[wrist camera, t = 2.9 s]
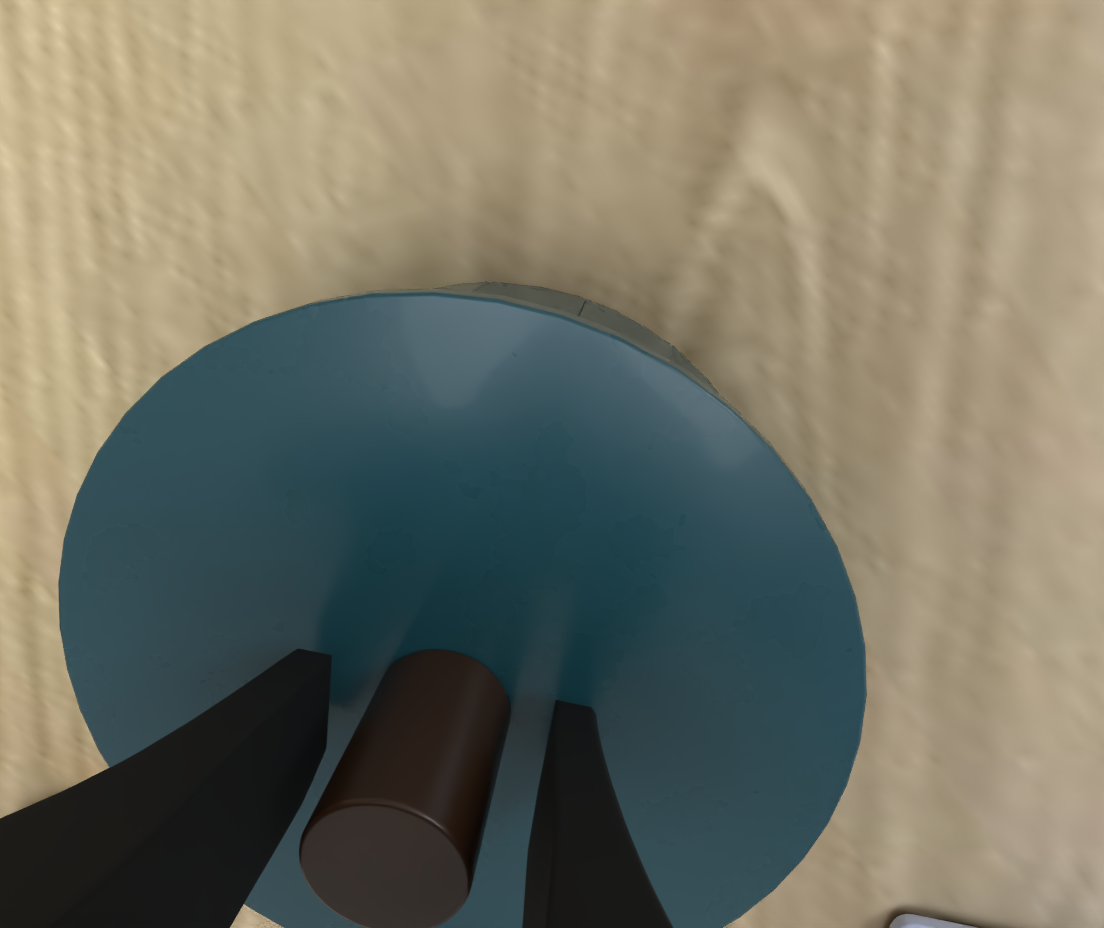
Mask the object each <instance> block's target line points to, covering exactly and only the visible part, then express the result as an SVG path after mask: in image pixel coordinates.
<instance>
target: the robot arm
mask: <svg viewBox="0 0 1104 928" xmlns="http://www.w3.org/2000/svg"><path fill="white" fill-rule="evenodd" d="M331 664H332V655H329V654H324V653H319V652H314V651H309V650H304V649H299V648H298V649H296V650H295V651H293V652H292V653H290V654H289V655H287V656H286V657H284V658H283V659H281V660H280V661H278V662H277V663H275V664H274V665H272V666H271V667H269V668H268V669H267V670H265V671H264V672H262V673H261V674H259V675H258V676H257V677H255V678H254V679H252V680H251V681H249V682H248V683H246V684H245V685H243V686H242V687H241V688H239V689H238V690H236V691H235V692H233V693H232V694H230V695H229V696H227V697H226V698H224V699H223V700H221V701H220V702H218V703H217V704H215V705H214V706H212V707H211V708H209V709H208V710H206V711H205V712H203V713H202V714H200V715H199V716H197V717H195V718H194V719H192V720H191V721H189V722H188V723H186V724H184V725H183V726H181V727H180V728H178V729H176V730H175V731H173V732H171V733H170V734H168V735H166V736H165V737H163V738H161V739H160V740H158V741H156V742H155V743H153V744H151V745H150V746H148V747H146V748H145V749H143V750H141V751H139V752H138V753H136V754H134V755H132V756H131V757H129V758H127V759H125V760H123V761H121V762H120V763H118V764H116V765H114V766H112V767H110V768H108V769H106V770H104V771H102V772H100V773H98V774H96V775H94V776H92V777H90V778H88V779H86V780H84V781H82V782H80V783H79V784H77V785H75V786H72V787H70V788H68V789H66V790H64V791H62V792H60V793H58V794H55V795H53V796H51V797H49V798H46V799H44V800H42V801H39V802H37V803H35V804H33V805H30V806H28V807H26V808H23V809H21V810H19V811H16V812H14V813H12V814H10V815H7V816H5V817H3V818H0V928H230V926H231V925H232V923H233V921H234V920H235V918H236V916H237V914H238V913H239V911H240V909H241V908H242V906H243V904H244V903H245V901H246V899H247V898H248V896H249V894H250V892H251V891H252V889H253V887H254V886H255V884H256V882H257V881H258V879H259V877H260V875H261V874H262V872H263V870H264V869H265V867H266V865H267V864H268V862H269V860H270V859H271V857H272V855H273V853H274V852H275V850H276V848H277V847H278V845H279V843H280V841H281V840H282V838H283V836H284V835H285V833H286V831H287V829H288V828H289V826H290V824H291V823H292V821H293V819H294V817H295V816H296V814H297V812H298V810H299V809H300V807H301V805H302V803H303V801H304V799H305V796H306V794H307V792H308V790H309V788H310V785H311V783H312V781H313V779H314V776H315V774H316V772H317V769H318V767H319V765H320V762H321V760H322V758H323V755H324V753H325V751H326V748H327V732H328V715H329V698H330V681H331ZM522 928H673V926H672V924H671V922H670V920H669V918H668V916H667V914H666V912H665V910H664V908H663V906H662V904H661V902H660V900H659V898H658V896H657V894H656V892H655V890H654V888H653V886H652V884H651V882H650V880H649V878H648V875H647V873H646V871H645V869H644V866H643V864H642V862H641V859H640V857H639V855H638V852H637V850H636V847H635V845H634V843H633V840H632V838H631V835H630V833H629V830H628V827H627V825H626V822H625V819H624V817H623V814H622V811H621V808H620V805H619V802H618V799H617V796H616V793H615V790H614V788H613V785H612V781H611V778H610V775H609V771H608V768H607V764H606V761H605V757H604V753H603V749H602V745H601V741H600V736H599V731H598V725H597V717H596V713H595V712H594V710H593V709H592V707H589V706H584V705H579V704H574V703H569V702H564V701H559V700H556V701H555V706H554V711H553V716H552V721H551V726H550V731H549V736H548V741H547V746H546V751H545V756H544V762H543V767H542V772H541V777H540V782H539V787H538V792H537V798H536V804H535V810H534V816H533V822H532V828H531V834H530V840H529V846H528V853H527V867H526V881H525V895H524V910H523V924H522ZM889 928H977V927H972V926H967V925H963V924H958V923H953V922H948V921H943V920H939V919H934V918H929V917H924V916H919V915H914V914H903V915H900V916H898V917H896V918H895V919H894V920H893V922H892V923H891V925H890V927H889Z"/></svg>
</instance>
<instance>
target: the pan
mask: <svg viewBox="0 0 1104 928" xmlns="http://www.w3.org/2000/svg"><path fill="white" fill-rule="evenodd" d="M434 289H448V290H457V291H466V292H475V293H484V294H493V295H503V296H507V297H511V298H515V299H519V300H523V301H527V302H531V303H535V304H539V305H543V306H547V307H551V308H555V309H559V310H563V311H566V312H569V313H571V314H574V315H576V316H579V317H581V318H584V319H586V320H589V321H592V322H594V323H597V324H599V325H602V326H604V327H607V328H609V329H612V330H614V331H617V332H620V333H622V334H624V335H626V336H628V337H630V338H631V339H633V340H635V341H637V342H639V343H640V344H642V345H644V346H646V347H648V348H650V349H651V350H653V351H655V352H657V353H659V354H660V355H662V356H664V357H666V358H668V359H669V360H671V361H673V362H675V363H677V364H678V365H680V366H681V367H682V368H684V369H685V370H686V371H688V372H689V373H690V374H692V375H693V376H694V377H696V378H697V379H698V380H700V381H701V382H703V383H704V384H705V385H707V386H708V387H709V388H711V389H712V390H713V391H715V392H716V393H717V394H718V392H717V391H716V390H715V388H714V387H713V386H712V384H711V383H710V382H709V381H708V379H707V378H706V377H705V376H704V375H703V374H702V373H701V372H700V371H699V370H697V369H696V368H695V367H694V366H693V365H692V364H691V363H690V362H689V361H688V360H687V359H686V358H685V357H684V356H683V355H682V354H681V353H680V352H679V351H678V350H677V349H676V348H675V347H674V346H671V345H670V343H668V342H666V341H664V340H663V339H661V338H660V337H659V336H657V335H656V334H655V333H653V332H652V331H651V330H649V329H647V328H646V327H644V326H642V325H640V324H638V323H637V322H635V321H633V320H631V319H629V318H628V317H626V316H624V315H622V314H620V313H619V312H617V311H615V310H612V309H610V308H607V307H605V306H602V305H600V304H597V303H594V302H592V301H590V300H587V299H584V298H582V297H579V296H575V295H571V294H567V293H563V292H559V291H555V290H551V289H547V288H543V287H537V286H528V285H518V284H509V283H497V282H491V283H489V282H480V283H471V284H458V285H452V286H446V287H440V288H434Z"/></svg>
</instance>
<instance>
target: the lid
mask: <svg viewBox="0 0 1104 928" xmlns="http://www.w3.org/2000/svg"><path fill="white" fill-rule="evenodd" d="M59 617H60V631H61V636H62V642H63V648H64V654H65V659H66V665H67V670H68V673H69V676H70V680H71V683H72V686H73V689H74V692H75V695H76V698H77V702H78V705H79V708H80V711H81V713H82V715H83V717H84V719H85V722H86V724H87V726H88V728H89V730H90V732H91V735H92V737H93V739H94V741H95V743H96V745H97V748H98V750H99V751H100V753H101V755H102V756H103V758H104V760H105V761H106V763H107V764H108V766H109V768H110V767H112V766H114V765H116V764H118V763H120V762H121V761H123V760H125V759H127V758H129V757H131V756H132V755H134V754H136V753H138V752H139V751H141V750H143V749H145V748H146V747H148V746H150V745H151V744H153V743H155V742H156V741H158V740H160V739H161V738H163V737H165V736H166V735H168V734H170V733H171V732H173V731H175V730H176V729H178V728H180V727H181V726H183V725H184V724H186V723H188V722H189V721H191V720H192V719H194V718H195V717H197V716H199V715H200V714H202V713H203V712H205V711H206V710H208V709H209V708H211V707H212V706H214V705H215V704H217V703H218V702H220V701H221V700H223V699H224V698H226V697H227V696H229V695H230V694H232V693H233V692H235V691H236V690H238V689H239V688H241V687H242V686H243V685H245V684H246V683H248V682H249V681H251V680H252V679H254V678H255V677H257V676H258V675H259V674H261V673H262V672H264V671H265V670H267V669H268V668H269V667H271V666H272V665H274V664H275V663H277V662H278V661H280V660H281V659H283V658H284V657H286V656H287V655H289V654H290V653H292V652H293V651H295V650H296V649H298V648H299V649H304V650H309V651H314V652H319V653H324V654H329V655H332V664H331V681H330V698H329V715H328V732H327V748H326V751H325V753H324V755H323V758H322V760H321V762H320V765H319V767H318V769H317V772H316V774H315V776H314V779H313V781H312V783H311V785H310V788H309V790H308V792H307V794H306V796H305V799H304V801H303V803H302V805H301V807H300V809H299V810H298V812H297V814H296V816H295V817H294V819H293V821H292V823H291V824H290V826H289V828H288V829H287V831H286V833H285V835H284V836H283V838H282V840H281V841H280V843H279V845H278V847H277V848H276V850H275V852H274V853H273V855H272V857H271V859H270V860H269V862H268V864H267V865H266V867H265V869H264V870H263V872H262V874H261V875H260V877H259V879H258V881H257V882H256V884H255V886H254V887H253V889H252V891H251V892H250V894H249V896H248V898H247V899H246V901H245V903H244V904H245V905H246V906H247V907H249V908H251V909H253V910H254V911H256V912H258V913H260V914H261V915H263V916H265V917H267V918H268V919H270V920H272V921H273V922H275V923H277V924H279V925H280V926H282V927H284V928H522V924H523V910H524V895H525V881H526V867H527V853H528V846H529V840H530V834H531V828H532V822H533V816H534V810H535V804H536V798H537V792H538V787H539V782H540V777H541V772H542V767H543V762H544V756H545V751H546V746H547V741H548V736H549V731H550V726H551V721H552V716H553V711H554V706H555V701H556V700H559V701H564V702H569V703H574V704H579V705H584V706H589V707H592V709H593V710H594V712H595V713H596V717H597V725H598V731H599V736H600V741H601V745H602V749H603V753H604V757H605V761H606V764H607V768H608V771H609V775H610V778H611V781H612V785H613V788H614V790H615V793H616V796H617V799H618V802H619V805H620V808H621V811H622V814H623V817H624V819H625V822H626V825H627V827H628V830H629V833H630V835H631V838H632V840H633V843H634V845H635V847H636V850H637V852H638V855H639V857H640V859H641V862H642V864H643V866H644V869H645V871H646V873H647V875H648V878H649V880H650V882H651V884H652V886H653V888H654V890H655V892H656V894H657V896H658V898H659V900H660V902H661V904H662V906H663V908H664V910H665V912H666V914H667V916H668V918H669V920H670V922H671V924H672V926H673V928H723V927H724V926H726V925H728V924H729V923H731V922H733V921H734V920H736V919H738V918H739V917H741V916H742V915H743V914H744V913H746V912H747V911H748V910H749V909H751V908H752V907H753V906H754V905H756V904H757V903H758V902H759V901H761V900H762V899H763V898H764V897H766V896H767V895H768V894H769V893H771V892H772V891H773V890H774V889H775V888H776V887H777V886H778V885H779V884H780V883H781V882H782V881H783V880H784V879H785V878H786V877H787V876H788V874H789V873H790V872H791V871H792V870H793V869H794V868H795V867H796V866H797V865H798V864H799V863H800V862H801V861H802V860H803V858H804V857H805V856H806V854H807V853H808V851H809V850H810V848H811V847H812V846H813V844H814V843H815V841H816V840H817V838H818V837H819V836H820V834H821V833H822V831H823V830H824V828H825V827H826V826H827V824H828V822H829V820H830V818H831V816H832V814H833V812H834V810H835V808H836V806H837V804H838V802H839V800H840V798H841V796H842V794H843V792H844V790H845V788H846V786H847V783H848V780H849V777H850V773H851V770H852V767H853V764H854V760H855V757H856V754H857V751H858V747H859V744H860V740H861V733H862V725H863V718H864V711H865V703H866V696H867V689H866V654H865V642H864V637H863V632H862V627H861V622H860V617H859V611H858V606H857V601H856V596H855V594H854V591H853V588H852V585H851V583H850V580H849V577H848V575H847V572H846V569H845V566H844V564H843V561H842V558H841V555H840V553H839V550H838V547H837V545H836V543H835V542H834V540H833V538H832V536H831V534H830V533H829V531H828V529H827V527H826V525H825V523H824V522H823V520H822V518H821V516H820V514H819V513H818V511H817V509H816V507H815V505H814V504H813V502H812V500H811V498H810V496H809V495H808V493H807V491H806V490H805V488H804V487H803V486H802V484H801V483H800V482H799V480H798V479H797V478H796V476H795V475H794V474H793V472H792V471H791V470H790V469H789V467H788V466H787V465H786V463H785V462H784V461H783V459H782V458H781V457H780V455H779V454H778V453H777V451H776V450H775V449H774V447H773V446H772V445H771V444H770V442H769V441H768V440H766V439H765V438H764V437H763V436H762V435H761V434H760V433H759V432H758V431H757V430H756V429H755V428H754V427H753V426H752V425H751V424H750V423H749V422H748V421H747V420H746V419H745V418H744V417H743V416H742V415H741V414H740V413H739V412H738V411H737V410H736V409H735V408H734V407H733V406H732V405H731V404H730V403H729V402H728V401H727V400H725V399H724V398H723V397H721V396H720V395H719V394H717V393H716V392H715V391H713V390H712V389H711V388H709V387H708V386H707V385H705V384H704V383H703V382H701V381H700V380H698V379H697V378H696V377H694V376H693V375H692V374H690V373H689V372H688V371H686V370H685V369H684V368H682V367H681V366H680V365H678V364H677V363H675V362H673V361H671V360H669V359H668V358H666V357H664V356H662V355H660V354H659V353H657V352H655V351H653V350H651V349H650V348H648V347H646V346H644V345H642V344H640V343H639V342H637V341H635V340H633V339H631V338H630V337H628V336H626V335H624V334H622V333H620V332H617V331H614V330H612V329H609V328H607V327H604V326H602V325H599V324H597V323H594V322H592V321H589V320H586V319H584V318H581V317H579V316H576V315H574V314H571V313H569V312H566V311H563V310H559V309H555V308H551V307H547V306H543V305H539V304H535V303H531V302H527V301H523V300H519V299H515V298H511V297H507V296H503V295H493V294H484V293H475V292H466V291H457V290H448V289H407V290H377V291H371V292H365V293H359V294H354V295H348V296H342V297H336V298H330V299H324V300H319V301H316V302H313V303H310V304H307V305H304V306H300V307H297V308H294V309H291V310H288V311H285V312H282V313H279V314H276V315H272V316H269V317H266V318H263V319H260V320H257V321H254V322H252V323H250V324H248V325H246V326H244V327H242V328H240V329H238V330H236V331H234V332H232V333H230V334H228V335H226V336H224V337H222V338H220V339H218V340H216V341H214V342H212V343H210V344H208V345H206V346H204V347H203V348H202V349H200V350H199V351H197V352H196V353H195V354H193V355H192V356H190V357H189V358H188V359H186V360H185V361H183V362H182V363H181V364H179V365H178V366H176V367H175V368H174V369H172V370H171V371H169V372H168V373H167V374H165V375H164V376H162V377H161V378H160V379H159V380H158V381H157V382H156V383H155V384H154V385H153V386H152V387H151V388H150V389H149V390H148V391H147V392H146V393H145V394H144V395H143V396H142V397H141V398H140V399H139V400H138V401H137V402H136V403H135V404H134V405H133V406H132V407H131V408H130V409H129V410H128V411H127V412H126V413H125V415H124V416H123V418H122V419H121V420H120V422H119V423H118V425H117V426H116V427H115V429H114V430H113V432H112V433H111V434H110V436H109V437H108V439H107V440H106V441H105V443H104V444H103V446H102V447H101V448H100V450H99V451H98V453H97V455H96V457H95V459H94V461H93V463H92V465H91V467H90V469H89V471H88V473H87V475H86V477H85V479H84V482H83V484H82V486H81V488H80V490H79V492H78V494H77V496H76V500H75V503H74V507H73V510H72V513H71V517H70V520H69V524H68V527H67V530H66V534H65V537H64V543H63V551H62V559H61V567H60V575H59Z"/></svg>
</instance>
